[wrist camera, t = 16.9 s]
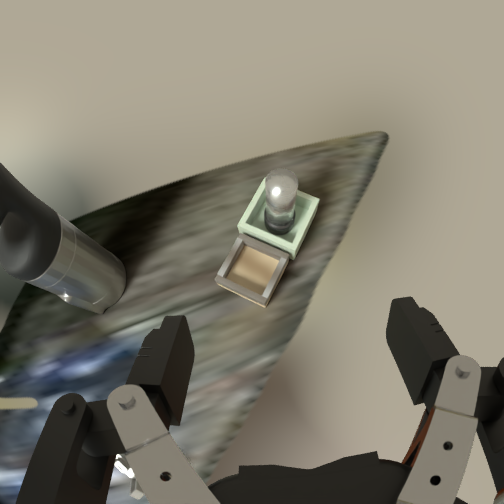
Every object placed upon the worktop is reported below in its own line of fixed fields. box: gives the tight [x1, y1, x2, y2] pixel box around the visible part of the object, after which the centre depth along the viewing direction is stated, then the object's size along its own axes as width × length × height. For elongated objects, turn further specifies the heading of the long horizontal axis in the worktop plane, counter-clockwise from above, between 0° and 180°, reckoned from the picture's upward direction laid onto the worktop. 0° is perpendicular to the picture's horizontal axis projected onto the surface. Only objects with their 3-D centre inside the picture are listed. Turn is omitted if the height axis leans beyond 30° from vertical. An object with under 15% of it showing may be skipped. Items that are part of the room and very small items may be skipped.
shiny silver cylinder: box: [264, 168, 298, 235], centre depth 40 cm, size 4×4×11 cm
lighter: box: [115, 454, 144, 500], centre depth 32 cm, size 7×2×8 cm, turn 51°
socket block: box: [214, 233, 289, 308], centre depth 43 cm, size 7×7×3 cm
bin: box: [237, 177, 319, 260], centre depth 44 cm, size 9×9×4 cm
